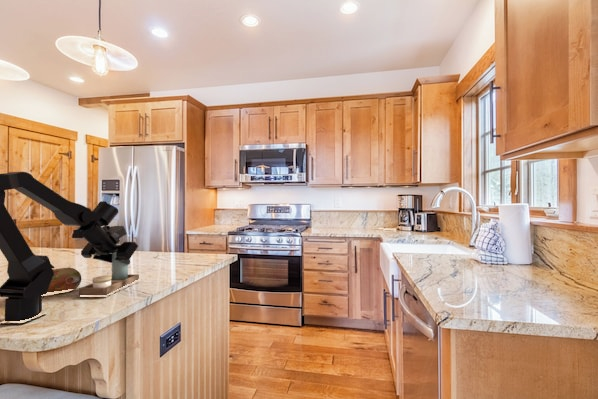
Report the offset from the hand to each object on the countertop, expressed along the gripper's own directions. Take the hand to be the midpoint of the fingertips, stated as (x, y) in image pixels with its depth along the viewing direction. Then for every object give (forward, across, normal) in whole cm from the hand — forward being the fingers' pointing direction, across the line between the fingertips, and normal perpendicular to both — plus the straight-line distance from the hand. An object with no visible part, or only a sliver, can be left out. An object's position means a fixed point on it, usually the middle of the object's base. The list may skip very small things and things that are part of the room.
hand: (123, 263), depth 103 cm
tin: (-4, +14, +16) cm, 21 cm away
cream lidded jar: (-1, -2, +13) cm, 13 cm away
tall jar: (+4, 0, +6) cm, 7 cm away
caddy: (+2, -1, +10) cm, 10 cm away
